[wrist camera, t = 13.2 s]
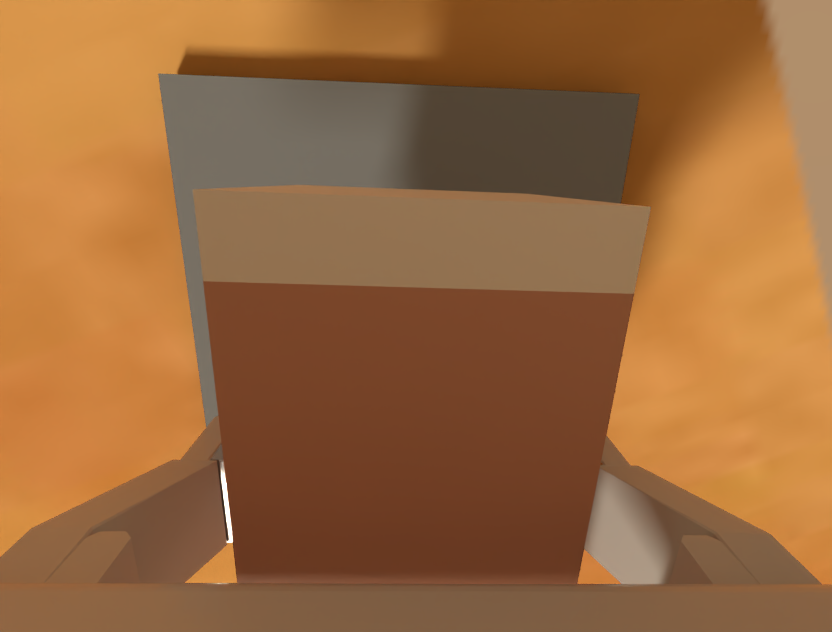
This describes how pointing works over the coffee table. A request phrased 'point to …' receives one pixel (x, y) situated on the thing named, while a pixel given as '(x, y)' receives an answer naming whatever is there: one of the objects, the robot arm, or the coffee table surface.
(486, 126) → the slate mat
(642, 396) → the coffee table surface
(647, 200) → the coffee table surface
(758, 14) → the coffee table surface
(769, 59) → the coffee table surface
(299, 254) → the tall block
